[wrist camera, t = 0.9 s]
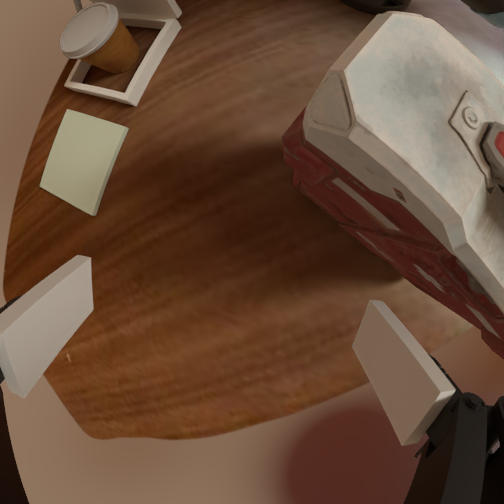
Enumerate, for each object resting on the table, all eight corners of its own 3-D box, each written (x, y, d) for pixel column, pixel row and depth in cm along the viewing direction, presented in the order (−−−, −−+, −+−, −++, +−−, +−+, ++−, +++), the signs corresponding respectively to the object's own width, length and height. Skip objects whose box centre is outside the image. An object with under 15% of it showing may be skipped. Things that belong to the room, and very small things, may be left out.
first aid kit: (281, 185, 37) (267, 98, 7) (319, 135, 35) (392, -32, 6) (410, 291, 37) (561, 410, 7) (444, 244, 35) (618, 298, 6)
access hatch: (114, 15, 35) (61, -33, 18) (187, 22, 35) (143, -48, 17) (71, 90, 38) (0, 58, 20) (138, 107, 37) (63, 61, 20)
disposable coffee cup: (158, 36, 35) (125, -3, 24) (133, 85, 37) (90, 55, 25) (115, 34, 36) (78, 3, 24) (91, 80, 37) (47, 56, 26)
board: (70, 110, 39) (67, 109, 38) (128, 128, 38) (125, 126, 37) (43, 186, 41) (39, 186, 40) (95, 215, 40) (92, 215, 39)
